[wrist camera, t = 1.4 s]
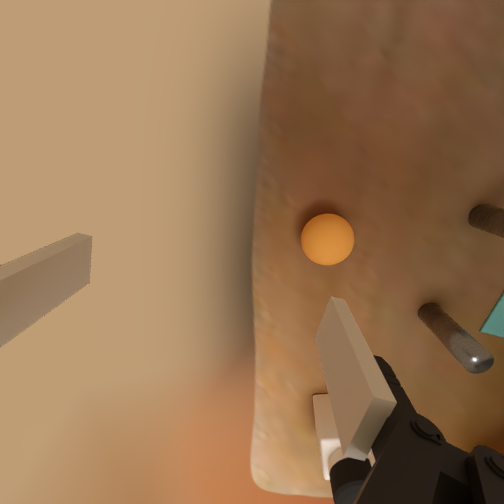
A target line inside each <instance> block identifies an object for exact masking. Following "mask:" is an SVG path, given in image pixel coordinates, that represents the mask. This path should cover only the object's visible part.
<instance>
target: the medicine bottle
mask: <svg viewBox="0 0 504 504" xmlns="http://www.w3.org/2000/svg"><path fill="white" fill-rule="evenodd" d="M313 406H314V416H315V426H316V434H317V440H318V446H319V452H320V458H321V464H322V471H323V476H324V479H326V480H330V482H331V488H332V493H333V499H334V503H335V504H353V502H354V500H355V498H356V496H357V494H358V493H359V491H360V489H361V487H362V485H363V483H364V480H365V478H366V477H367V475H368V473H369V471H370V470H371V468H372V466H373V465H374V463H375V458H374V455H373V452H372V449H371V450H370V452H369V454H368V456H367V457H366V459H365V461H363V460H358V459H354V458H350V457H346V456H343V453H342V448H341V444H340V440H339V436H338V432H337V428H336V424H335V420H334V415H333V411H332V407H331V403H330V399H329V395H328V394H318V395H313Z"/></svg>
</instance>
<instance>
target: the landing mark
mask: <svg viewBox="0 0 504 504" xmlns="http://www.w3.org/2000/svg"><path fill="white" fill-rule="evenodd" d="M480 332H484V333H488V334H492V335H496V336H500V337H503V338H504V292H503V294H502V295H501V297H500V299H499V300H498V302H497V303H496V305H495V307H494V308H493V310H492V311H491V313H490V315H489V316H488V318H487V319H486V321H485V323H484V324H483V326H482V327H481V329H480Z"/></svg>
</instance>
